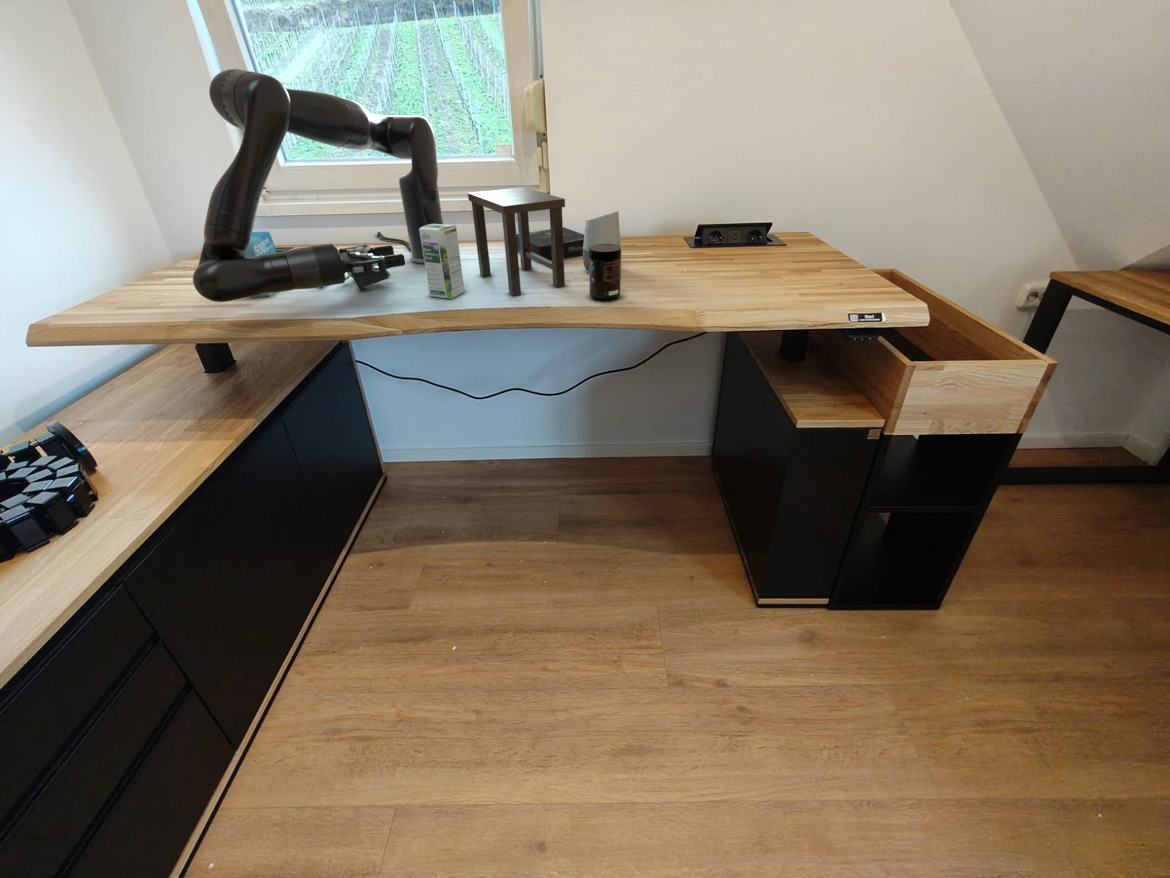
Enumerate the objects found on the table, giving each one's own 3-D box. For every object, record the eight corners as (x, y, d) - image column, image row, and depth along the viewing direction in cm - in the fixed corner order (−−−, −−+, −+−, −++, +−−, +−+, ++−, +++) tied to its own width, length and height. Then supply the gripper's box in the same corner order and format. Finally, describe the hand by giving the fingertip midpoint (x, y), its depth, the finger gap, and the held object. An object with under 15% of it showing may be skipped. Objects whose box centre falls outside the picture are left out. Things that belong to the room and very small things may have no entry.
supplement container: (606, 290, 124) (606, 241, 118) (627, 297, 119) (628, 247, 114) (583, 296, 120) (582, 247, 115) (603, 304, 116) (603, 253, 110)
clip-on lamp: (316, 307, 126) (392, 285, 126) (301, 281, 122) (379, 258, 122) (327, 286, 135) (398, 266, 135) (313, 262, 131) (386, 241, 131)
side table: (477, 275, 135) (467, 192, 125) (529, 266, 141) (523, 186, 131) (511, 297, 121) (503, 206, 111) (567, 286, 126) (565, 198, 116)
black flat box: (563, 241, 163) (562, 226, 161) (593, 253, 151) (593, 238, 149) (512, 249, 156) (511, 234, 154) (540, 262, 144) (539, 246, 142)
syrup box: (429, 297, 122) (417, 227, 114) (444, 289, 126) (434, 222, 119) (450, 299, 120) (440, 229, 112) (465, 291, 124) (456, 223, 117)
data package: (269, 298, 123) (250, 242, 116) (247, 299, 122) (227, 243, 116) (286, 282, 133) (269, 229, 126) (266, 283, 132) (248, 230, 126)
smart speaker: (594, 264, 142) (594, 205, 134) (627, 268, 138) (628, 208, 130) (576, 273, 135) (574, 212, 127) (609, 278, 131) (610, 216, 123)
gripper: (315, 255, 100) (404, 242, 107) (303, 239, 110) (385, 229, 117) (326, 296, 104) (412, 281, 111) (314, 277, 114) (393, 265, 121)
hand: (398, 254), depth 114 cm, fingers open, 8 cm apart
